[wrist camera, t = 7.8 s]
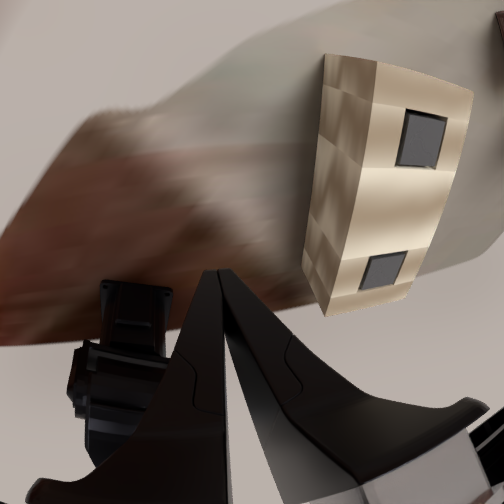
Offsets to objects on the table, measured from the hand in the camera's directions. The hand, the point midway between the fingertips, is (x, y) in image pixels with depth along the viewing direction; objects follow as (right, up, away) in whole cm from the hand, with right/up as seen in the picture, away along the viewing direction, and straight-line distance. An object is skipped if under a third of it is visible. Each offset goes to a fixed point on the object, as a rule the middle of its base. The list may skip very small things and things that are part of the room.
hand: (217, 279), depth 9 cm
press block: (+10, +7, +12) cm, 17 cm away
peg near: (+10, +10, +8) cm, 16 cm away
